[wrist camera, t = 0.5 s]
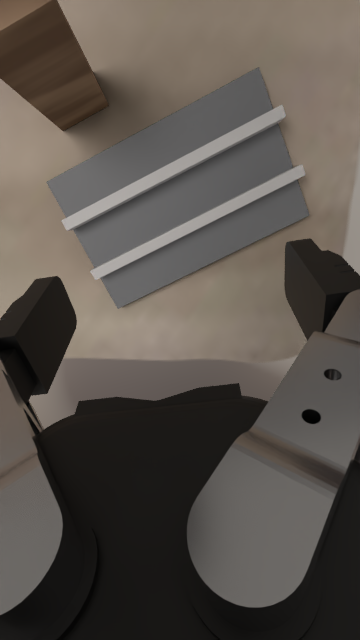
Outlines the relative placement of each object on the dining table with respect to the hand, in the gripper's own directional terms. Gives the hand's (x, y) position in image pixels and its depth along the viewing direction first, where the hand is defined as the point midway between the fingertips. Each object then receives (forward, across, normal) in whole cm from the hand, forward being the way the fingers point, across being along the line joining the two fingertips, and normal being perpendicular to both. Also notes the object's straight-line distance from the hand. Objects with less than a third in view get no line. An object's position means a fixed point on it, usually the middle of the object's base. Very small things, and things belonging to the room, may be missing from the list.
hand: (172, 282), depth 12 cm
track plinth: (+24, 0, +4) cm, 25 cm away
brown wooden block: (+27, +8, -6) cm, 29 cm away
